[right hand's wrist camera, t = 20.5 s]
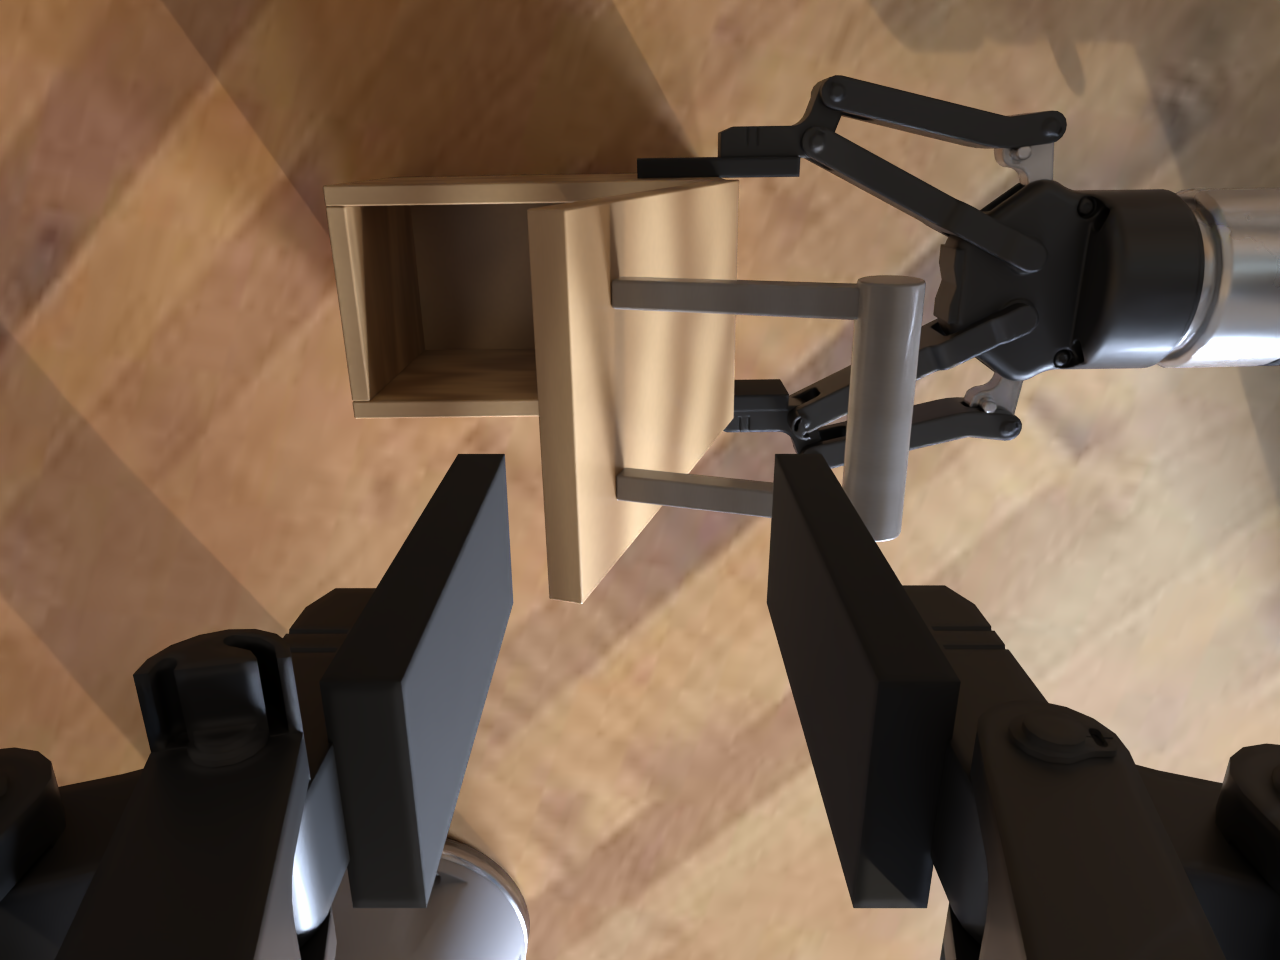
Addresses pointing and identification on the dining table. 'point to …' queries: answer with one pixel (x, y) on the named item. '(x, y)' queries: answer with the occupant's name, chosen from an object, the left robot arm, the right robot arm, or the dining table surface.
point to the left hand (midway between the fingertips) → (639, 287)
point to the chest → (446, 287)
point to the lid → (685, 370)
